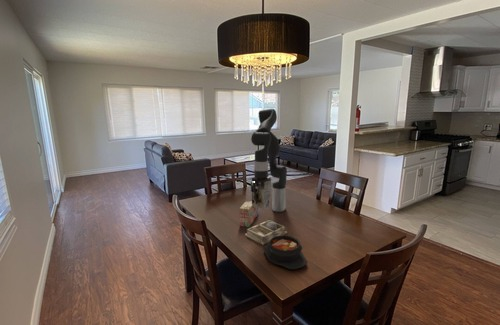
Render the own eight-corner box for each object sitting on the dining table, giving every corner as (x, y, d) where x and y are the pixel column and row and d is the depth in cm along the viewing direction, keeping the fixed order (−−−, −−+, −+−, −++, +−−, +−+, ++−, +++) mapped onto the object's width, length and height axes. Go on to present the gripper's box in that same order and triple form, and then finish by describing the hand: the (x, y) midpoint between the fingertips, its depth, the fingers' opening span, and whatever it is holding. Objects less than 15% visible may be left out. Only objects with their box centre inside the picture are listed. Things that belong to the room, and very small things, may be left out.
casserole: (255, 251, 133) (255, 236, 131) (283, 241, 142) (283, 228, 140) (285, 278, 112) (286, 260, 110) (316, 264, 121) (317, 248, 120)
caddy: (268, 224, 163) (268, 217, 162) (286, 233, 152) (287, 225, 151) (245, 235, 150) (245, 227, 149) (263, 245, 139) (263, 236, 138)
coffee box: (251, 205, 145) (251, 177, 141) (258, 202, 149) (258, 175, 146) (263, 209, 139) (263, 180, 135) (270, 206, 143) (271, 178, 140)
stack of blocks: (249, 213, 182) (249, 196, 179) (258, 214, 180) (258, 197, 177) (239, 226, 162) (239, 207, 159) (249, 227, 160) (249, 209, 157)
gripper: (265, 165, 147) (265, 193, 150) (246, 169, 138) (247, 199, 141) (275, 168, 142) (274, 196, 145) (256, 172, 132) (256, 202, 136)
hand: (261, 197), depth 143 cm, fingers closed on coffee box, 6 cm apart
